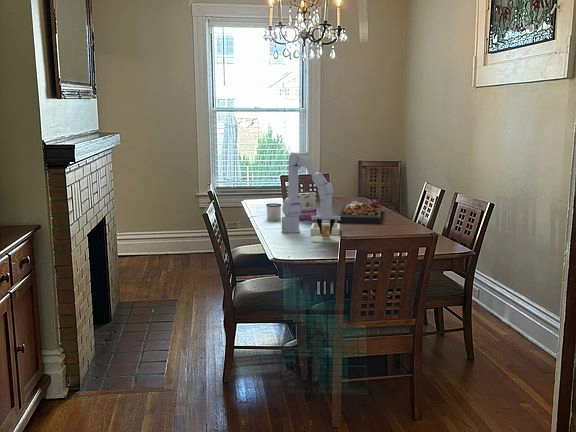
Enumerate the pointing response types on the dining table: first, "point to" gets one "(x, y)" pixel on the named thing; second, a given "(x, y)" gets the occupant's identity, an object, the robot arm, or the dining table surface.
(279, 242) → the dining table surface
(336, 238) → the pad
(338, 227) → the white square tray
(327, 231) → the wood block
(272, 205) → the mug
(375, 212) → the food platter
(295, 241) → the dining table surface
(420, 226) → the dining table surface
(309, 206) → the candy bar box
